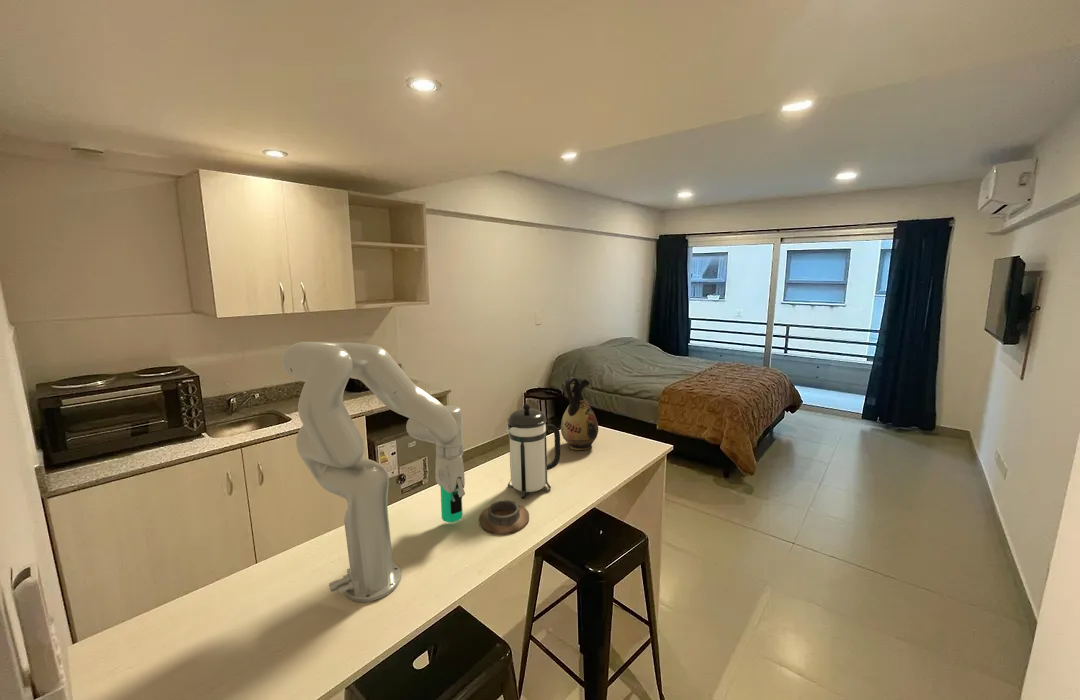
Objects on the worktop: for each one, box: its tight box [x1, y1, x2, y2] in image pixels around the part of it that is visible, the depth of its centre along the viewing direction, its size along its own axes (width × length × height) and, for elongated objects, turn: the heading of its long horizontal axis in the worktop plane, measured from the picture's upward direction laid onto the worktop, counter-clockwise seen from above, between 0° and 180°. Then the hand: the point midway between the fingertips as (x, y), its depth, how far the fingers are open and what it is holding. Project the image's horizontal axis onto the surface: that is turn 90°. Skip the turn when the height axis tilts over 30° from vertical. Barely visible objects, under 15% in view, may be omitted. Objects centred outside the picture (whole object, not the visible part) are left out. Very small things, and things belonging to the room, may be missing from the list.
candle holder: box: [478, 499, 530, 536], centre depth 130 cm, size 15×15×4 cm
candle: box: [439, 486, 463, 523], centre depth 127 cm, size 6×6×12 cm
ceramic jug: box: [560, 376, 599, 454], centre depth 178 cm, size 17×15×30 cm
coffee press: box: [505, 403, 561, 500], centre depth 146 cm, size 17×16×30 cm
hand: (451, 507), depth 127 cm, fingers closed on candle, 4 cm apart
